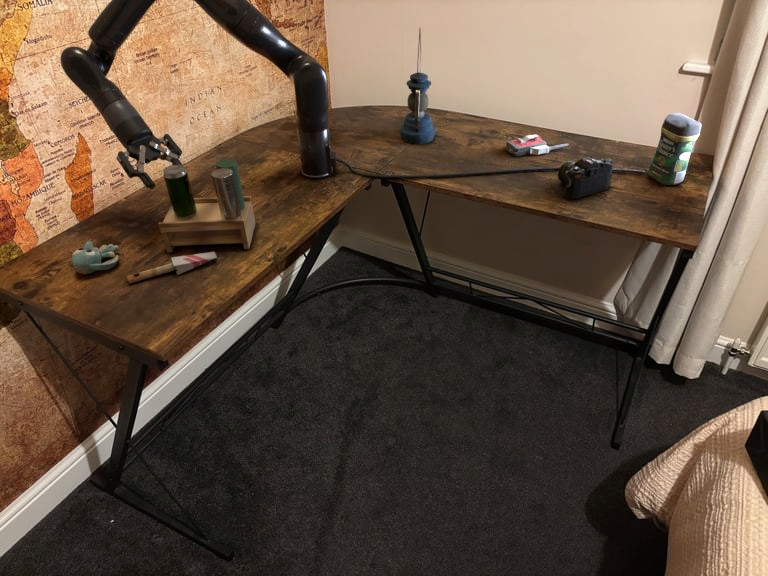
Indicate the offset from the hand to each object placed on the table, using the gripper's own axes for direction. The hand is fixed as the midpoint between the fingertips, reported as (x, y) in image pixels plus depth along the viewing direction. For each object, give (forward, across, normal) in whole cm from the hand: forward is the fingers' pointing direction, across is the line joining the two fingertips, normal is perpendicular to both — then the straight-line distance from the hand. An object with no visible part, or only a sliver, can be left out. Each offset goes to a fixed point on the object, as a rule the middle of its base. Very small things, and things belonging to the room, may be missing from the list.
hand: (168, 180), depth 133 cm
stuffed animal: (+7, -20, +14) cm, 26 cm away
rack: (+16, +3, +5) cm, 17 cm away
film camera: (+62, +81, -41) cm, 110 cm away
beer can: (+8, 0, +3) cm, 9 cm away
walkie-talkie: (+47, +99, -26) cm, 112 cm away
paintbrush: (+19, -12, +2) cm, 23 cm away
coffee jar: (+75, +102, -54) cm, 137 cm away
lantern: (+21, +85, 0) cm, 88 cm away
